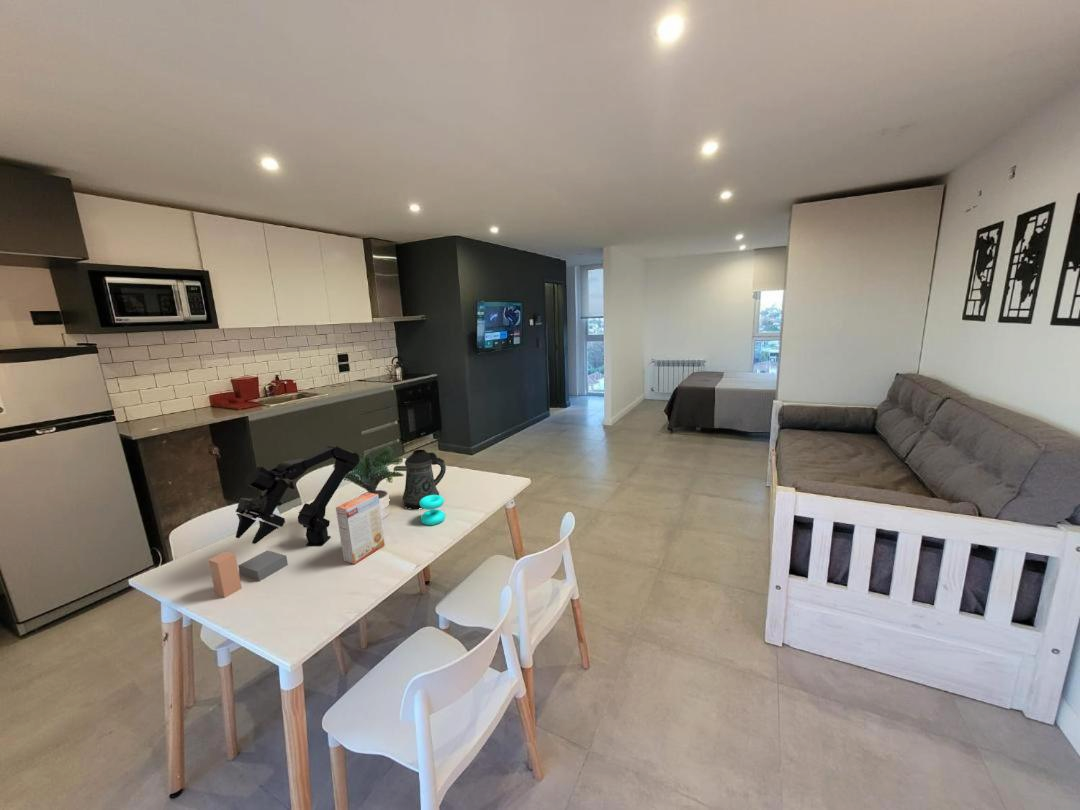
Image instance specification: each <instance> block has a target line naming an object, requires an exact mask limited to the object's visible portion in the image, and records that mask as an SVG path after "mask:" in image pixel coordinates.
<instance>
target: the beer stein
mask: <svg viewBox="0 0 1080 810" xmlns="http://www.w3.org/2000/svg"><path fill="white" fill-rule="evenodd" d="M404 465H405V467H406V471H405V472H406V473H405V485H404V491H403V494H402V498H401V499H402V503H403V505H404V508H405V507H407V508H406V509H408V508H411V509H419V508H421V507H420V504H419V502H420V500H421V499H422V498H423V497H425V496H429V495H440V492H439V490H438V488H437V485H438V484H439V483H440V482H441V481H442V480H443V478H444V475H445V474H446V471H447V469H446V468H447V466H446V463H445V460H444V459H443V458H441V457H437V454H436V453H435V452H427V451H426V450H425V449H416V450H413V452H412V454H411V455H409V456H408V457H407V458H406V459H405V460H404ZM436 465H438V466H439V467H440V471H439V473H438V475H437V476H436V478H434V477H435V476H434V472H433V468H432V466H436ZM411 509H410V510H411Z"/></svg>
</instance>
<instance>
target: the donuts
mask: <svg viewBox="0 0 1080 810" xmlns="http://www.w3.org/2000/svg"><path fill="white" fill-rule="evenodd" d="M444 502H445V500H444V497H443V496H441V495H440V494H439V495H429V496H425V497H423V498H422V499H421V500H420V502H419V504H420V507H421V508H423V509H422V510H427V511H426V512H424V513H423V514H422V515H420V516H421V517H420V522H421V523H422V524H424V525H426V526H434V525H438V524H441V523H442V522H443V521H444V520H445V519H446V513H445V512H444V511H442V510H440V509H438V508H441V507H442V506H443V505H444Z"/></svg>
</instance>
